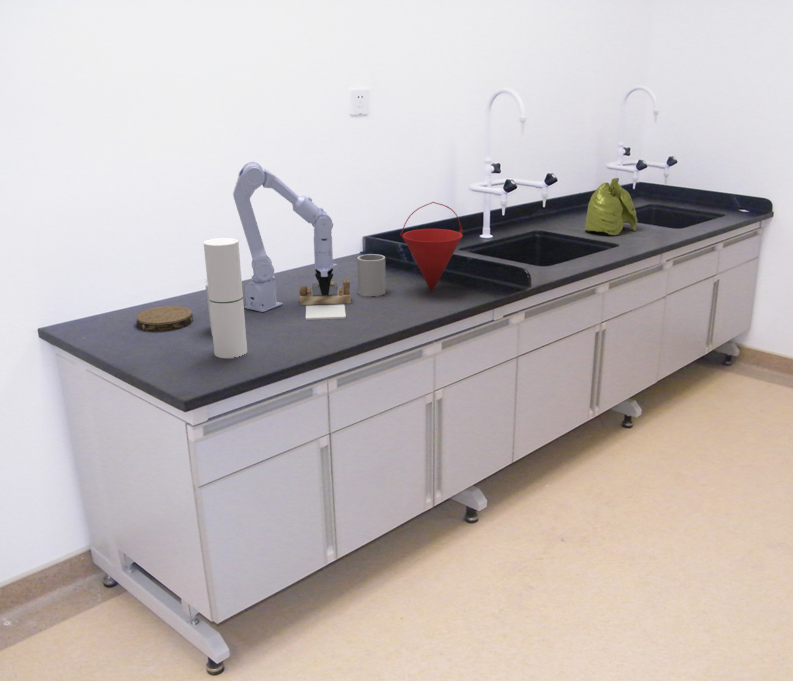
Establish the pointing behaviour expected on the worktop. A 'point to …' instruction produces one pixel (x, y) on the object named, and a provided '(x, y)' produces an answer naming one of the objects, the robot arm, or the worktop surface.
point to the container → (225, 297)
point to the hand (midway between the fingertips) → (325, 292)
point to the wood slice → (164, 318)
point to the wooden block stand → (341, 298)
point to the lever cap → (317, 292)
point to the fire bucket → (432, 249)
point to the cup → (371, 275)
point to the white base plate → (325, 312)
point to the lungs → (610, 209)
